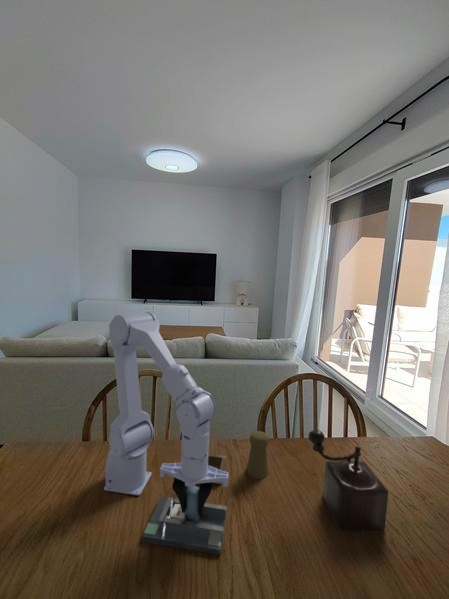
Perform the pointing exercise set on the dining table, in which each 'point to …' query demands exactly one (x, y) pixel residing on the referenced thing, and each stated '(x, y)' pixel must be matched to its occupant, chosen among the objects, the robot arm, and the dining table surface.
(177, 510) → the plate
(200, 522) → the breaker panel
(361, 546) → the dining table surface
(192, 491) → the blue rounded cylinder
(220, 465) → the stylus holder
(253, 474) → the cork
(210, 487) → the robot arm
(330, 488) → the manual coffee grinder
